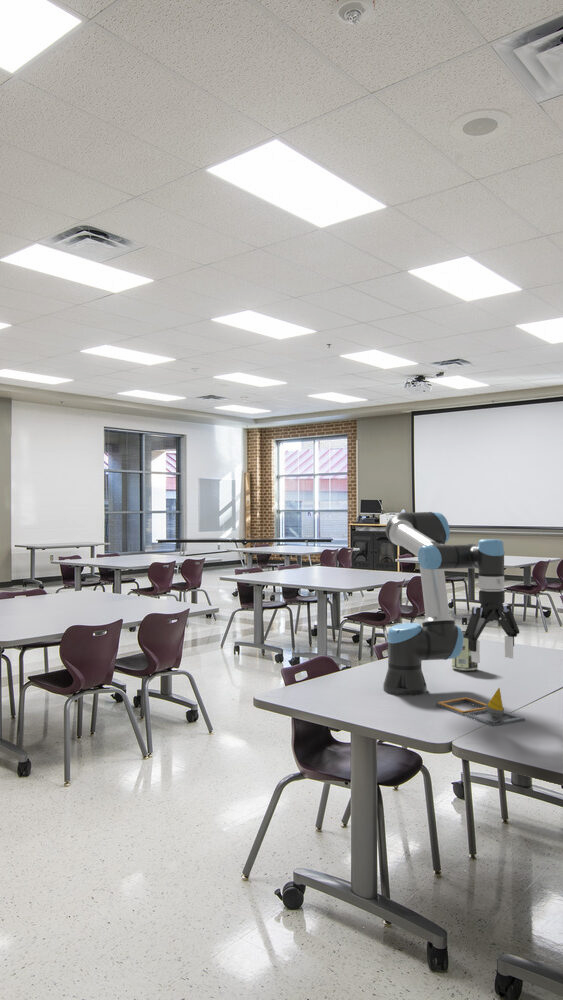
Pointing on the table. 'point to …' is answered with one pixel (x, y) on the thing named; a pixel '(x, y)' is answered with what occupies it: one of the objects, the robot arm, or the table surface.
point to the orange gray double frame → (476, 711)
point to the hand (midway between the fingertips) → (492, 659)
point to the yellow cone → (495, 705)
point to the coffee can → (464, 657)
